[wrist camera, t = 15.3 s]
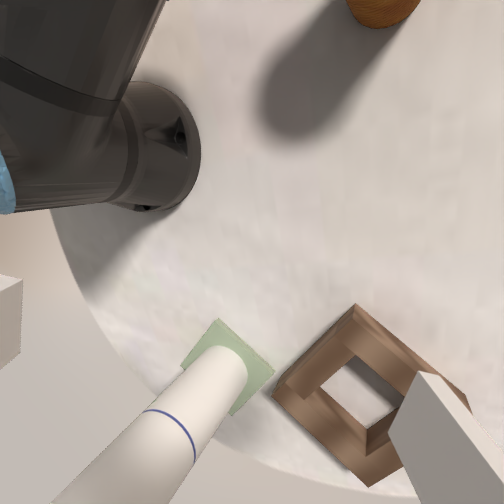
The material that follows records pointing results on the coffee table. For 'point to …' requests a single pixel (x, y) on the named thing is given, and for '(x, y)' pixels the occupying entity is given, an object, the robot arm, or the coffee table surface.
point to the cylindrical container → (163, 436)
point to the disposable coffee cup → (381, 11)
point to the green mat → (226, 337)
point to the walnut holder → (335, 416)
